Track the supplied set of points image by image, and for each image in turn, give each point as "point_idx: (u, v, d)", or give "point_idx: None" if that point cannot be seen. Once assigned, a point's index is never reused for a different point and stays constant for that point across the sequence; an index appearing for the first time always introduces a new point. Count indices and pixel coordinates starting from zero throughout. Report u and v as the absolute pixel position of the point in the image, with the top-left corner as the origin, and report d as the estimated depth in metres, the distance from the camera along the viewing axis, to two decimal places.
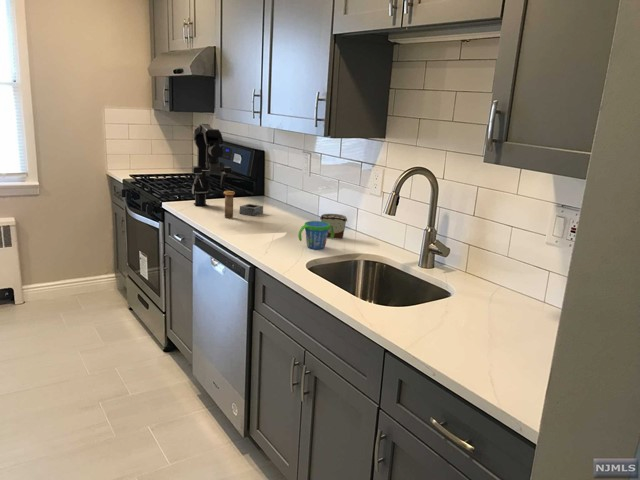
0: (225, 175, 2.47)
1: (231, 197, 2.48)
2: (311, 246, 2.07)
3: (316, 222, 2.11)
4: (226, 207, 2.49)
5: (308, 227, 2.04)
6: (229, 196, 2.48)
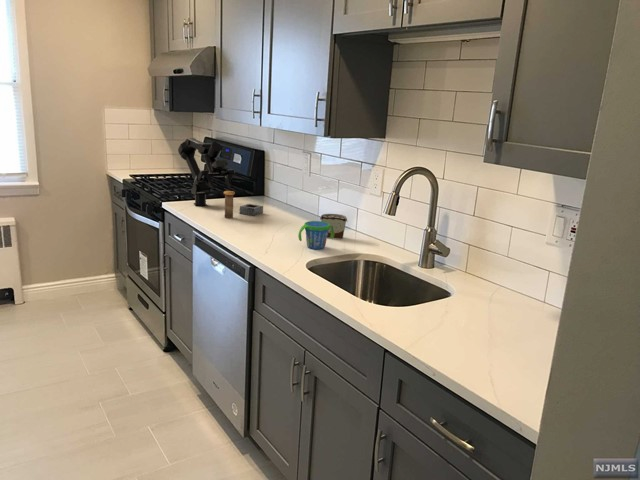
0: (230, 175, 2.59)
1: (231, 197, 2.48)
2: (311, 246, 2.07)
3: (316, 222, 2.11)
4: (226, 207, 2.49)
5: (308, 227, 2.04)
6: (229, 196, 2.48)
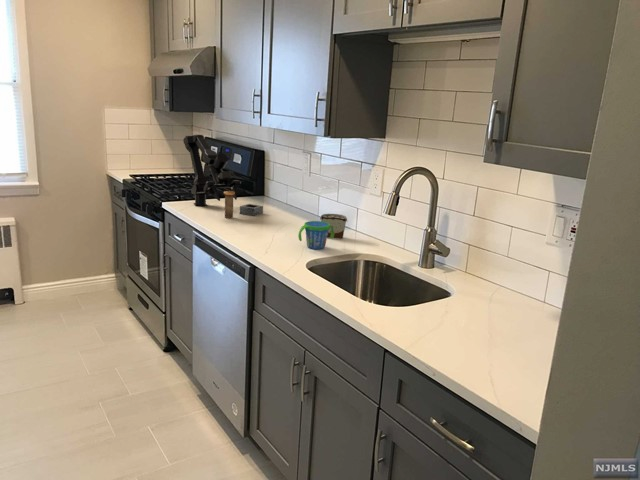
0: (236, 186, 2.55)
1: (231, 197, 2.48)
2: (311, 246, 2.07)
3: (316, 222, 2.11)
4: (226, 207, 2.49)
5: (308, 227, 2.04)
6: (229, 196, 2.48)
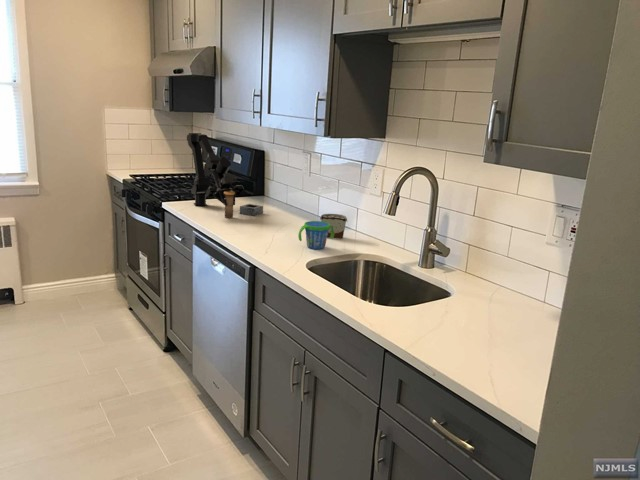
0: (234, 191, 2.52)
1: (231, 197, 2.48)
2: (311, 246, 2.07)
3: (316, 222, 2.11)
4: (226, 207, 2.49)
5: (308, 227, 2.04)
6: (229, 196, 2.48)
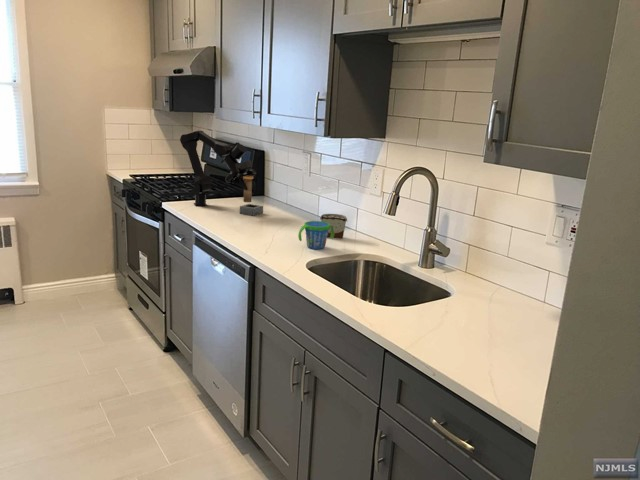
0: (250, 175, 2.60)
1: (251, 181, 2.56)
2: (311, 246, 2.07)
3: (316, 222, 2.11)
4: (246, 191, 2.56)
5: (308, 227, 2.04)
6: (249, 180, 2.55)
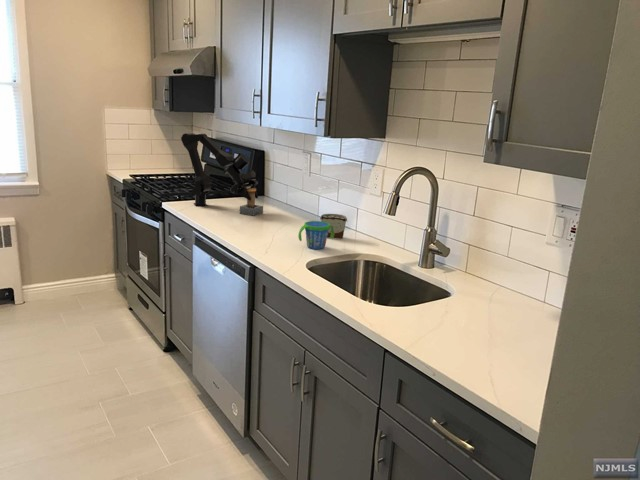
0: (254, 185, 2.65)
1: (254, 193, 2.61)
2: (311, 246, 2.07)
3: (316, 222, 2.11)
4: (250, 203, 2.61)
5: (308, 227, 2.04)
6: (253, 193, 2.60)
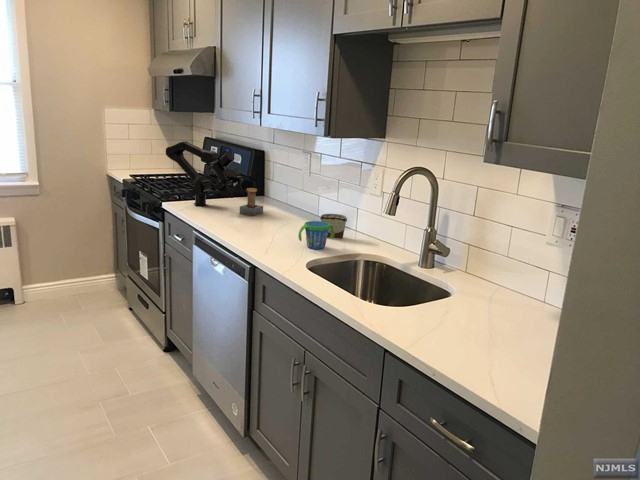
0: (240, 181, 2.70)
1: (255, 194, 2.61)
2: (311, 246, 2.07)
3: (316, 222, 2.11)
4: (250, 204, 2.61)
5: (308, 227, 2.04)
6: (253, 193, 2.60)
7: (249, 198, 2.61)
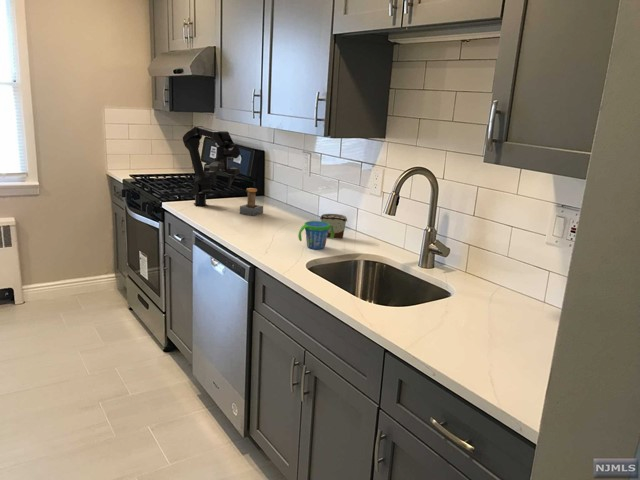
0: (228, 175, 2.57)
1: (254, 194, 2.61)
2: (311, 246, 2.07)
3: (316, 222, 2.11)
4: (250, 204, 2.61)
5: (308, 227, 2.04)
6: (253, 193, 2.60)
7: (249, 198, 2.61)
